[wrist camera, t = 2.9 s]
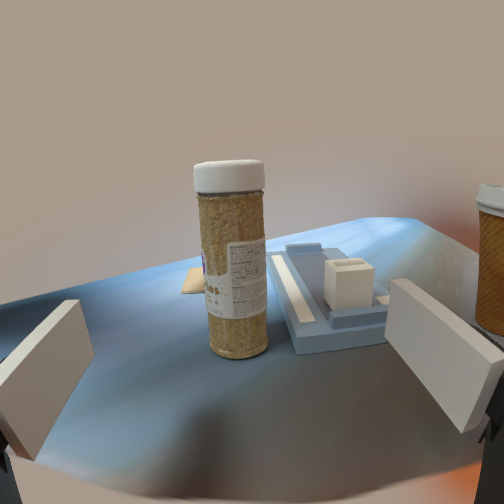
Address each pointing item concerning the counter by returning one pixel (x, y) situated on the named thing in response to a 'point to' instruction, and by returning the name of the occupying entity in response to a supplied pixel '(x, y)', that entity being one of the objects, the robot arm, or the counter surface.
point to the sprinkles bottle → (233, 255)
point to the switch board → (322, 303)
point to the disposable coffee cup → (491, 259)
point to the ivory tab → (348, 283)
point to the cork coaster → (194, 281)
